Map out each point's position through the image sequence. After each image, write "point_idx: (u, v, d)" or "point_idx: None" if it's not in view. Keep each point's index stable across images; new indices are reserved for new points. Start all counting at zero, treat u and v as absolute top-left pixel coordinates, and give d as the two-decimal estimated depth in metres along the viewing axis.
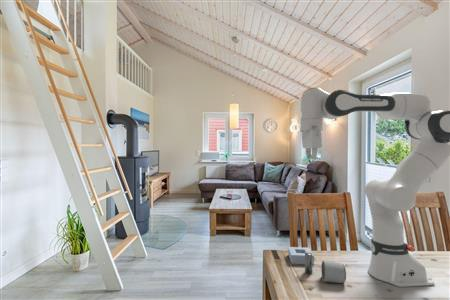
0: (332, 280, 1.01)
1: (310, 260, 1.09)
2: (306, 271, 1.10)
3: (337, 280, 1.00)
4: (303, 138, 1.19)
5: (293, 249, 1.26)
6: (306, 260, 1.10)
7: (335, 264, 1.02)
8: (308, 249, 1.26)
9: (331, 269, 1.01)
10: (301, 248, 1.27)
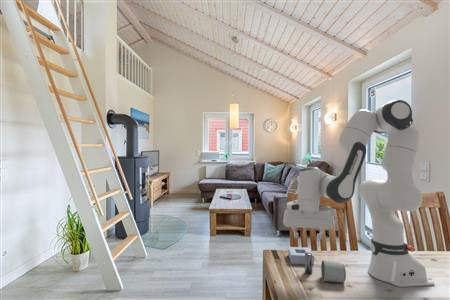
0: (332, 279, 1.01)
1: (310, 260, 1.09)
2: (306, 271, 1.10)
3: (337, 279, 1.01)
4: (290, 216, 1.10)
5: (293, 249, 1.26)
6: (306, 260, 1.10)
7: (335, 264, 1.03)
8: (308, 249, 1.26)
9: (331, 269, 1.01)
10: (301, 248, 1.27)
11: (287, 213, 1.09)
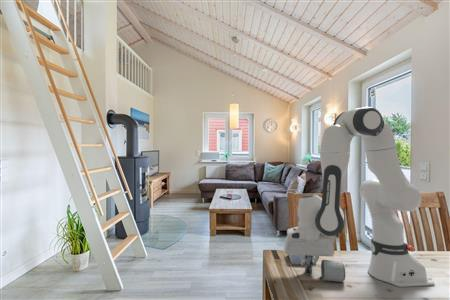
0: (331, 279, 1.02)
1: (310, 260, 1.09)
2: (306, 271, 1.10)
3: (336, 279, 1.01)
4: (290, 244, 1.10)
5: None
6: (306, 260, 1.10)
7: (334, 263, 1.03)
8: None
9: (330, 268, 1.02)
10: None
11: (288, 241, 1.09)
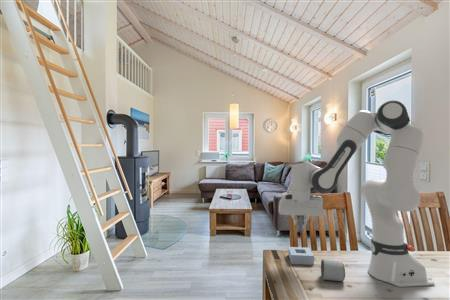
0: (331, 278, 1.02)
1: (301, 220, 1.22)
2: (298, 230, 1.23)
3: (336, 278, 1.02)
4: (284, 205, 1.23)
5: (293, 249, 1.26)
6: (298, 220, 1.23)
7: (334, 262, 1.04)
8: (308, 249, 1.26)
9: (330, 267, 1.02)
10: (301, 248, 1.27)
11: (281, 202, 1.22)
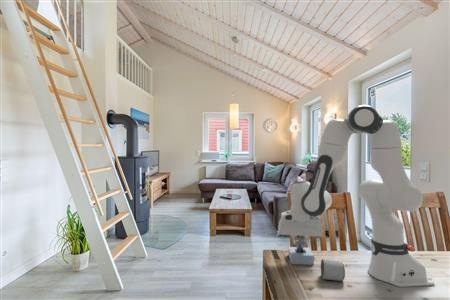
0: (331, 278, 1.02)
1: (301, 240, 1.22)
2: (298, 250, 1.22)
3: (336, 278, 1.02)
4: (284, 225, 1.22)
5: (293, 249, 1.26)
6: (298, 240, 1.22)
7: (334, 262, 1.04)
8: (308, 249, 1.26)
9: (330, 267, 1.02)
10: None
11: (281, 223, 1.22)
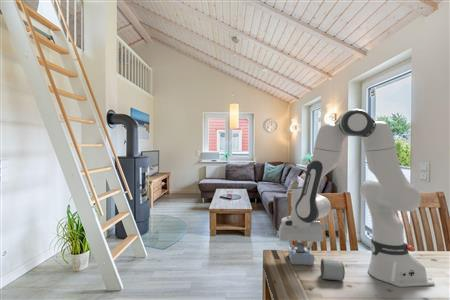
0: (331, 277, 1.03)
1: (302, 248, 1.22)
2: None
3: (336, 277, 1.02)
4: (284, 231, 1.23)
5: None
6: (298, 248, 1.23)
7: (334, 262, 1.04)
8: None
9: (330, 267, 1.03)
10: None
11: (282, 228, 1.22)
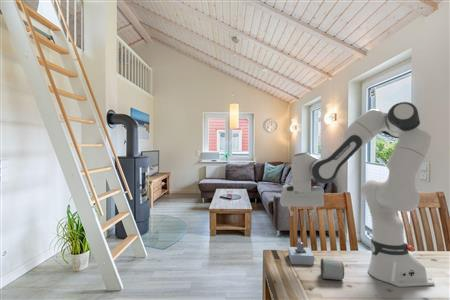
0: (331, 277, 1.03)
1: (302, 248, 1.22)
2: None
3: (335, 277, 1.03)
4: (286, 197, 1.24)
5: (293, 249, 1.26)
6: (298, 248, 1.23)
7: (334, 261, 1.05)
8: (308, 249, 1.26)
9: (330, 266, 1.03)
10: None
11: (283, 194, 1.23)
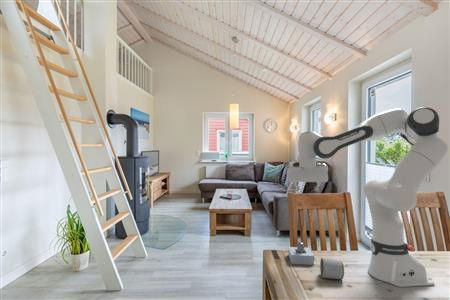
0: (330, 276, 1.03)
1: (302, 248, 1.22)
2: None
3: (335, 276, 1.03)
4: (292, 172, 1.32)
5: (293, 249, 1.26)
6: (298, 248, 1.22)
7: (333, 261, 1.05)
8: (308, 249, 1.26)
9: (329, 266, 1.04)
10: None
11: (289, 170, 1.32)
